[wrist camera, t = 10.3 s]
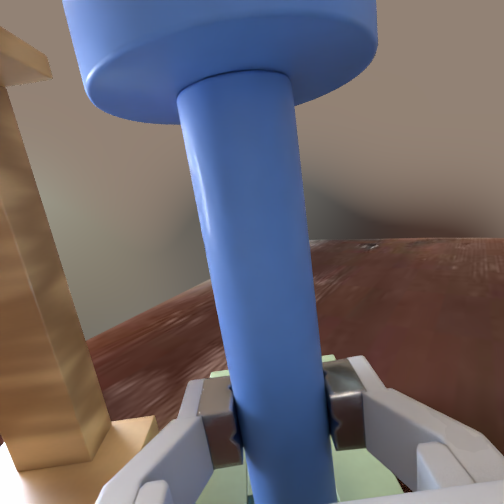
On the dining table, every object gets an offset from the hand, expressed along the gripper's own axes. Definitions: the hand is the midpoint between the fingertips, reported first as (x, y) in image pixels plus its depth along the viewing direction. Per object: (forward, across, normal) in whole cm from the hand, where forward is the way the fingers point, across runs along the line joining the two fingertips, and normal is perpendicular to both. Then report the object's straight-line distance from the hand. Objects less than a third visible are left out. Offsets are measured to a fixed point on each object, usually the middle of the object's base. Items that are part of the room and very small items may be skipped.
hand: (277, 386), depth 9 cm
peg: (-1, 0, +8) cm, 8 cm away
